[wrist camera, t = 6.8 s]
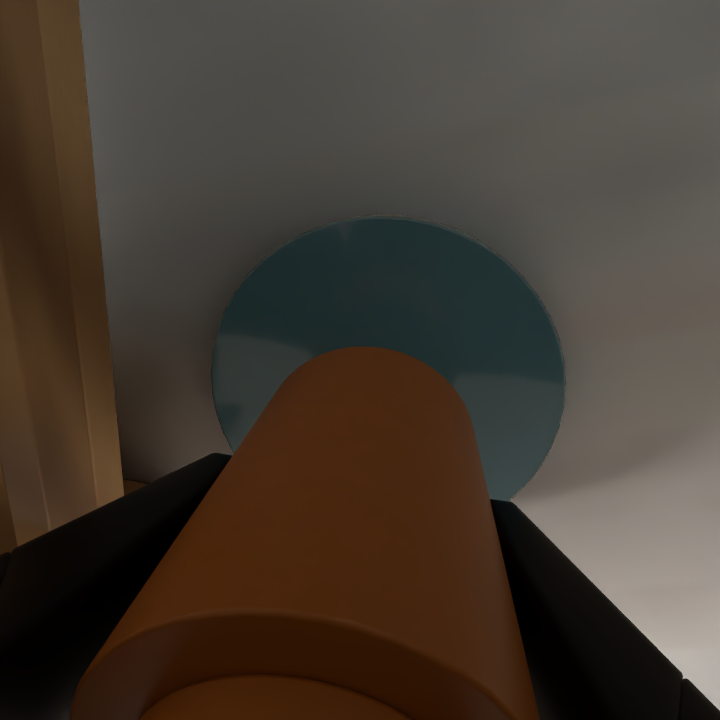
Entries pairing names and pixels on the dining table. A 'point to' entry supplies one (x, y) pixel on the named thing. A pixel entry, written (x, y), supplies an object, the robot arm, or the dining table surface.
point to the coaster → (400, 330)
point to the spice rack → (51, 284)
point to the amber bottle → (330, 569)
